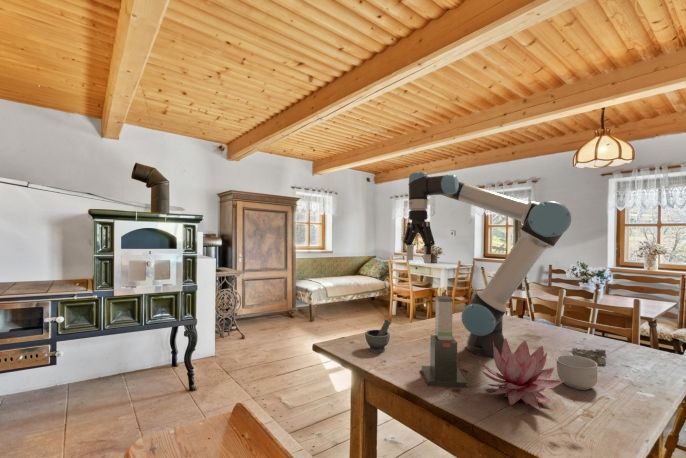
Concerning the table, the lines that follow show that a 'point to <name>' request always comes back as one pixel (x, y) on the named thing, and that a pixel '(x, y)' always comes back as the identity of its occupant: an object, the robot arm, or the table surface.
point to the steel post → (443, 318)
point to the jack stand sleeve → (443, 365)
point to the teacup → (577, 371)
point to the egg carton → (591, 354)
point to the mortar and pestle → (378, 338)
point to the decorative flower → (522, 374)
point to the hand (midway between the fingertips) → (418, 261)
